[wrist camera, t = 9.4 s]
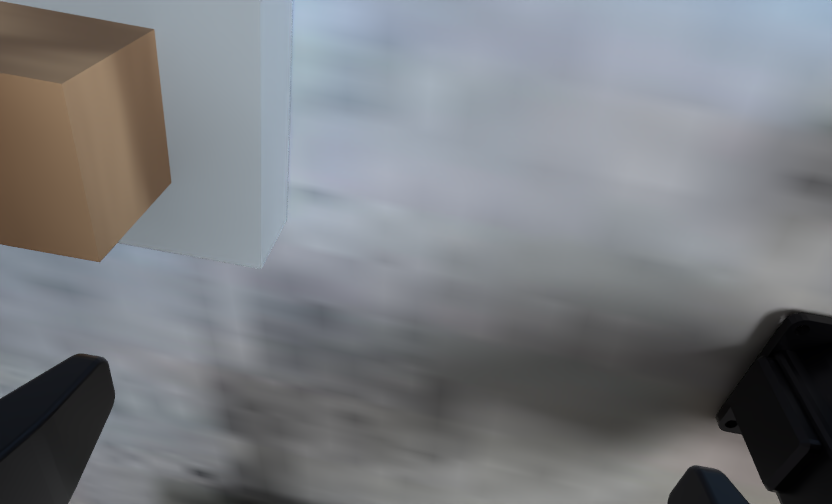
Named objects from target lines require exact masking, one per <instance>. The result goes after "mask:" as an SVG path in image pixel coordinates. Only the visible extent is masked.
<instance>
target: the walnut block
mask: <svg viewBox="0 0 832 504" xmlns="http://www.w3.org/2000/svg"><path fill="white" fill-rule="evenodd" d="M171 183H172V182H171V174H170V165H169V156H168V147H167V138H166V129H165V120H164V111H163V102H162V93H161V84H160V75H159V66H158V57H157V48H156V39H155V30H154V29H151V28H145V27H140V26H134V25H129V24H123V23H118V22H112V21H107V20H102V19H96V18H91V17H85V16H80V15H74V14H69V13H63V12H58V11H52V10H47V9H41V8H36V7H31V6H25V5H20V4H14V3H9V2H3V1H0V244H2V245H7V246H13V247H18V248H24V249H29V250H35V251H41V252H46V253H52V254H57V255H63V256H68V257H74V258H79V259H85V260H91V261H96V262H101V260H102V259H103V258H104V257H105V256H106V255H107V254H108V253H109V252H110V250H111V249H112V248H113V247H114V246H115V245H116V244H117V243H118V242H119V240H120V239H121V238H122V237H123V236H124V235H125V234H126V233H127V232H128V230H129V229H130V228H131V227H132V226H133V225H134V224H135V223H136V222H137V220H138V219H139V218H140V217H141V216H142V215H143V214H144V213H145V212H146V211H147V209H148V208H149V207H150V206H151V205H152V204H153V203H154V202H155V201H156V199H157V198H158V197H159V196H160V195H161V194H162V193H163V192H164V191H165V189H166V188H167V187H168V186H169V185H170V184H171Z"/></svg>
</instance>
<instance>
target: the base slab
mask: <svg viewBox="0 0 832 504" xmlns="http://www.w3.org/2000/svg"><path fill="white" fill-rule="evenodd" d="M0 1H3V2H9V3H14V4H20V5H25V6H31V7H36V8H41V9H47V10H52V11H58V12H63V13H69V14H74V15H80V16H85V17H91V18H96V19H102V20H107V21H112V22H118V23H123V24H129V25H134V26H140V27H145V28H151V29H154V30H155V39H156V48H157V57H158V66H159V75H160V84H161V93H162V102H163V111H164V120H165V129H166V138H167V147H168V156H169V165H170V174H171V182H172V183H171V184H170V185H169V186H168V187H167V188H166V189H165V191H164V192H163V193H162V194H161V195H160V196H159V197H158V198H157V199H156V201H155V202H154V203H153V204H152V205H151V206H150V207H149V208H148V209H147V211H146V212H145V213H144V214H143V215H142V216H141V217H140V218H139V219H138V220H137V222H136V223H135V224H134V225H133V226H132V227H131V228H130V229H129V230H128V232H127V233H126V234H125V235H124V236H123V237H122V238H121V239H120V240H119V242H118V243H120V244H126V245H131V246H137V247H142V248H148V249H153V250H159V251H164V252H169V253H175V254H180V255H186V256H191V257H197V258H202V259H208V260H213V261H219V262H224V263H230V264H235V265H240V266H246V267H251V268H257V269H262V267H263V265H264V263H265V261H266V259H267V257H268V255H269V253H270V252H271V250H272V248H273V246H274V244H275V242H276V240H277V238H278V236H279V234H280V232H281V230H282V228H283V226H284V224H285V223H286V221H287V193H288V157H289V121H290V84H291V48H292V12H293V0H0Z"/></svg>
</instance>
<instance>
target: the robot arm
mask: <svg viewBox="0 0 832 504" xmlns="http://www.w3.org/2000/svg"><path fill="white" fill-rule="evenodd" d="M801 325H803V326H801ZM798 326H801V327H799V328H797V327H798ZM114 399H115V390H114V386H113V381H112V377H111V373H110V368H109V364H108V361H107V360H106V359H105V358H103V357H99V356H94V355H88V354H76V355H73V356H71V357H69V358H68V359H66V360H64V361H63V362H61V363H59V364H58V365H56V366H54V367H53V368H51V369H49V370H48V371H46V372H44V373H43V374H41V375H39V376H38V377H36V378H34V379H33V380H31V381H29V382H28V383H26V384H24V385H23V386H21V387H19V388H17V389H16V390H14V391H12V392H11V393H9V394H7V395H6V396H4V397H2V398H1V399H0V504H68V503H69V501H70V499H71V497H72V495H73V493H74V491H75V489H76V487H77V484H78V482H79V480H80V478H81V476H82V473H83V471H84V469H85V467H86V465H87V462H88V460H89V458H90V456H91V454H92V451H93V449H94V447H95V445H96V443H97V440H98V438H99V436H100V434H101V432H102V429H103V427H104V425H105V423H106V420H107V418H108V416H109V414H110V412H111V409H112V407H113V404H114ZM716 420H717V423H718V426H719V428H720V429H721V430H723V431H726V432H731V433H737V434H742V435H743V438H744V440H745V442H746V445H747V447H748V449H749V452H750V454H751V456H752V459H753V461H754V464H755V466H756V468H757V471H758V473H759V475H760V478H761V480H762V482H763V484H764V486H765V487H766V489H767V490H768V491H771V492H776V494H777V496H778V499H779V501H780V503H781V504H832V318H829V317H824V316H818V315H813V314H807V313H796V314H792V315H791V316H789V317H787V318H786V319H785V320H784V321H783V323H782V324H781V326H780V327H779V328H778V330H777V331H776V333H775V334H774V335H773V337H772V338H771V340H770V341H769V342H768V344H767V345H766V346H765V348H764V349H763V351H762V352H761V353H760V355H759V356H758V358H757V359H756V360H755V362H754V363H753V365H752V366H751V367H750V369H749V370H748V372H747V373H746V374H745V376H744V377H743V379H742V380H741V381H740V383H739V384H738V386H737V387H736V388H735V390H734V391H733V393H732V394H731V395H730V397H729V398H728V399H727V401H726V402H725V404H724V405H723V406H722V408H721V409H720V411H719V412H718V413H717V415H716ZM668 504H749V503H748V501H747V500H746V499H745V498H744V497H743V496H742V494H741V493H740V492H739V491H738V490H737V488H736V487H735V486H734V485H733V484H732V482H731V481H730V480H729V479H728V478H727V477H726V476H725V474H723V473H722V472H721V471H719V470H717V469H714V468H708V467H703V466H697V465H694V466H691V467H689V468H688V470H687V471H686V472H685V474H684V475H683V476H682V478H681V479H680V480H679V482H678V483H677V485H676V486H675V487H674V489H673V490H672V491H671V493H670V495H669V498H668Z"/></svg>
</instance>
